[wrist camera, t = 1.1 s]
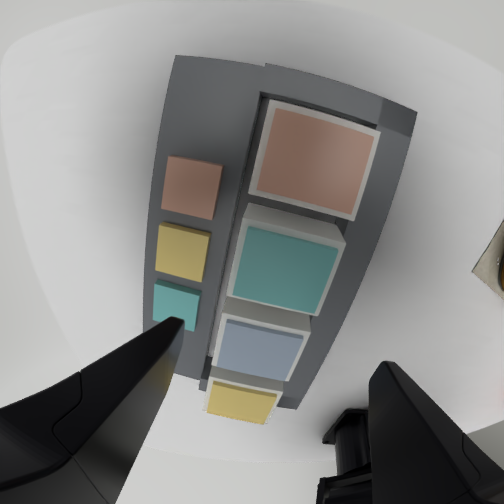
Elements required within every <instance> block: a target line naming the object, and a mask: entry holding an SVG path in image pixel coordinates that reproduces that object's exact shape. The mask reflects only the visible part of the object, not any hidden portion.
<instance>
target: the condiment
mask: <svg viewBox="0 0 504 504" xmlns="http://www.w3.org/2000/svg"><path fill="white" fill-rule="evenodd" d="M498 258H499V260H498V261H497V259H498ZM498 263H499V265H497V264H498ZM472 272H473V273H474V274H475V275H476V276H477V277H479V278H480V279H481V280H482V281H483V282H484V283H485V284H487V285H488V286H489V287H490V288H491V289H492V290H493V291H494V292H495V293H497V294H498V295H499V296H500V297H501V298H502V299H503V300H504V221H503V223H502V224H501V226H500V228H499V230H498V232H497V233H496V235H495V237H494V238H493V239H492V240H491V243H490V245H489V247H488V248H487V250H486V252H485V253H484V254H483V256H482V257H481V259H480V261H479V263H478V264H477V266H476V267H475V269H474V270H473V271H472Z"/></svg>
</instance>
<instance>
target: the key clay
mask: <svg viewBox="0 0 504 504" xmlns="http://www.w3.org/2000/svg"><path fill="white" fill-rule="evenodd" d="M380 133H381V132H379V131H376V130H374V129H371V128H368V127H365V126H363V125H360V124H357V123H354V122H351V121H348V120H345V119H342V118H338V117H335V116H332V115H329V114H325V113H322V112H318V111H315V110H311V109H308V108H304V107H300V106H296V105H292V104H288V103H284V102H280V101H275V100H271V99H270V101H269V105H268V109H267V114H266V118H265V122H264V126H263V130H262V135H261V139H260V143H259V147H258V152H257V156H256V160H255V165H254V169H253V173H252V178H251V182H250V187H249V191H248V194H252V195H256V196H260V197H264V198H268V199H272V200H276V201H280V202H284V203H288V204H292V205H296V206H300V207H304V208H307V209H311V210H315V211H319V212H322V213H326V214H329V215H333V216H337V217H340V218H344V219H347V220H351V221H354V220H355V217H356V214H357V211H358V208H359V205H360V202H361V199H362V195H363V192H364V189H365V186H366V183H367V179H368V176H369V173H370V169H371V166H372V162H373V159H374V155H375V152H376V148H377V145H378V141H379V137H380Z"/></svg>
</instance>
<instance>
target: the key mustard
mask: <svg viewBox="0 0 504 504" xmlns="http://www.w3.org/2000/svg"><path fill="white" fill-rule="evenodd" d="M283 387H284V381H280V380H275V379H270V378H265V377H260V376H255V375H250V374H246V373H241V372H237V371H232V370H228V369H224V368H220V367H216V366H213V365H212V368H211V371H210V375H209V379H208V384H207V390H206V395H205V400H204V405H203V411H207V412H206V413H210V414H214V415H219V416H223V417H227V418H232V419H237V420H242V421H247V422H252V423H258V424H264V423H265V424H267V423H268V421H269V419H270V417H271V415H272V413H273V411H274V409H275V408H276V406H277V404H278V402H279V400H280V398H281V396H282V394H283Z"/></svg>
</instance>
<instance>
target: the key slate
mask: <svg viewBox="0 0 504 504" xmlns="http://www.w3.org/2000/svg"><path fill="white" fill-rule="evenodd" d="M310 334H311V327H310V318H309V314H304V313H299V312H295V311H290V310H286V309H281V308H277V307H272V306H268V305H264V304H259V303H255V302H251V301H247V300H242V299H238V298H234V297H230V296H227V298H226V301H225V305H224V308H223V311H222V315H221V320H220V325H219V330H218V335H217V340H216V344H215V349H214V354H213V359H212V364H211V365H213V366H216V367H220V368H224V369H228V370H232V371H237V372H241V373H246V374H250V375H255V376H260V377H265V378H270V379H275V380H280V381H289V379H290V377H291V375H292V373H293V371H294V369H295V367H296V365H297V362H298V360H299V358H300V356H301V354H302V352H303V349H304V347H305V345H306V343H307V340H308V338H309V336H310Z"/></svg>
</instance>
